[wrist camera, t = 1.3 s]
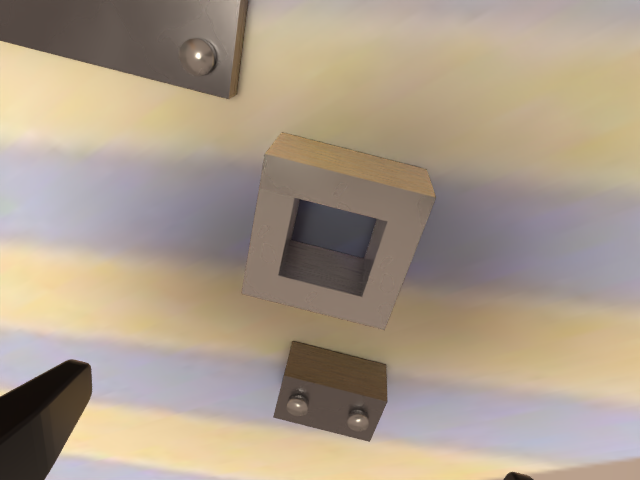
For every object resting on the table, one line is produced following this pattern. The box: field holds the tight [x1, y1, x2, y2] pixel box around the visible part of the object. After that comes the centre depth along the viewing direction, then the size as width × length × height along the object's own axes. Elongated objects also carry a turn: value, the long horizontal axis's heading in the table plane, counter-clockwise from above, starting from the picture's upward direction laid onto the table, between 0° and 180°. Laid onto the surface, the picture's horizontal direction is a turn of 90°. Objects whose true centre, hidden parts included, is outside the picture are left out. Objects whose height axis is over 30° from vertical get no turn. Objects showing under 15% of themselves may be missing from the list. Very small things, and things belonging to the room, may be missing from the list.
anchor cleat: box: [273, 341, 387, 442], centre depth 22 cm, size 5×3×3 cm, turn 77°
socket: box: [242, 132, 436, 330], centre depth 17 cm, size 6×6×3 cm
